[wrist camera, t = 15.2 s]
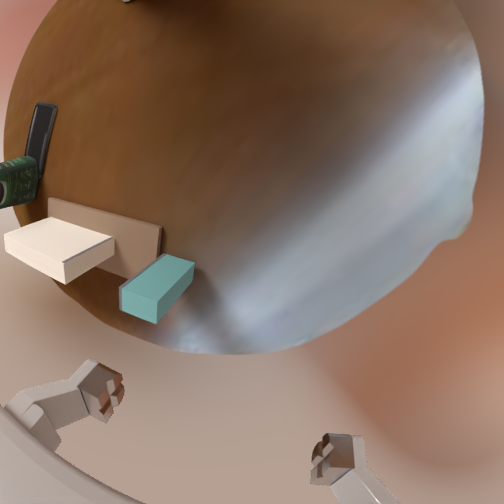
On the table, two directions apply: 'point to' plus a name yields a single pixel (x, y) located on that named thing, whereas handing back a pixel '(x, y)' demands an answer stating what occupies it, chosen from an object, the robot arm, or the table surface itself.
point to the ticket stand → (84, 242)
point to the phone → (40, 133)
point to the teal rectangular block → (156, 287)
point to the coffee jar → (18, 181)
